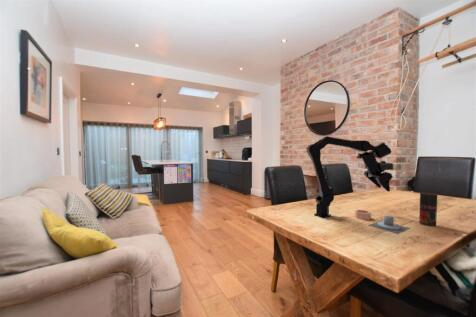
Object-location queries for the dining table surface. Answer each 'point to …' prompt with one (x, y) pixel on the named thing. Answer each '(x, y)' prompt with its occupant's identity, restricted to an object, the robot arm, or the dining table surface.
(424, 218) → the deodorant
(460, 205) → the dining table surface
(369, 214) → the pink block
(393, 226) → the lid
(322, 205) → the robot arm
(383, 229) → the mat
